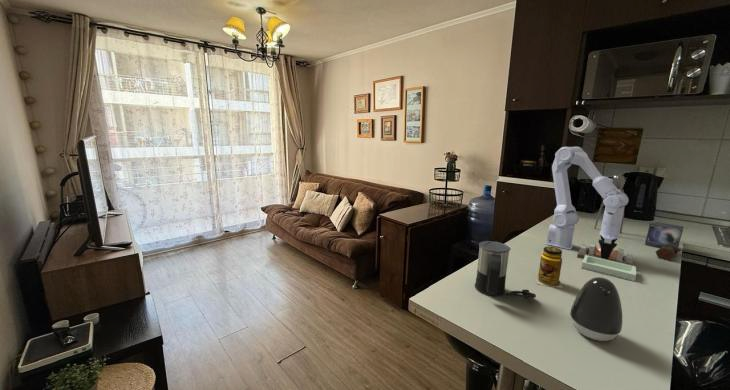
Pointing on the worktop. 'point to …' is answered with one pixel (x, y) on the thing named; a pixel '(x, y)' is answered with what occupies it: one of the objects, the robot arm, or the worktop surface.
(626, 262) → the frame
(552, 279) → the condiment
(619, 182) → the juicer
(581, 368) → the worktop surface
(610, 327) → the dark grey egg dome
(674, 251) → the brown elongated lump
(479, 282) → the milk frother
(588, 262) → the parts tray
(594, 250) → the fuse
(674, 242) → the picture frame
